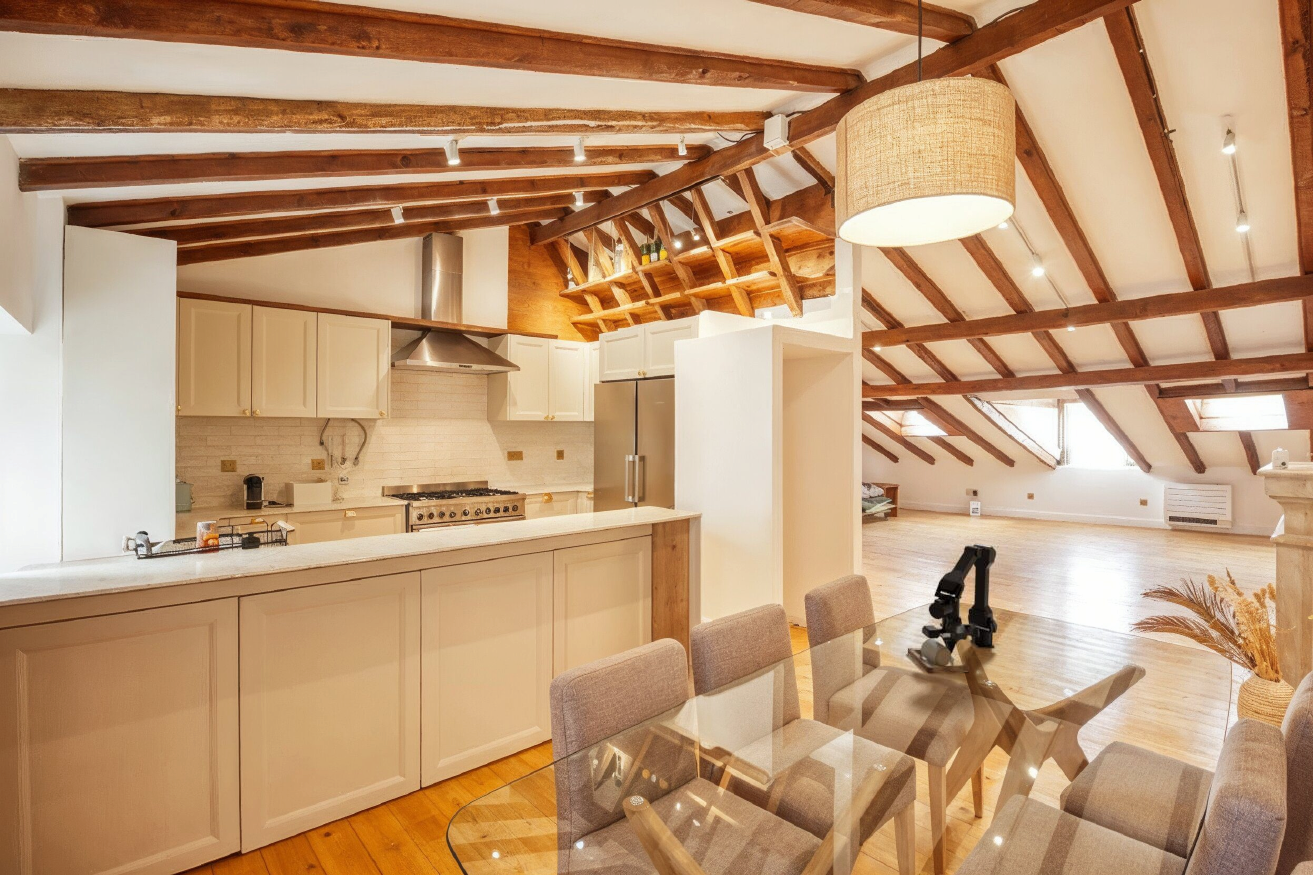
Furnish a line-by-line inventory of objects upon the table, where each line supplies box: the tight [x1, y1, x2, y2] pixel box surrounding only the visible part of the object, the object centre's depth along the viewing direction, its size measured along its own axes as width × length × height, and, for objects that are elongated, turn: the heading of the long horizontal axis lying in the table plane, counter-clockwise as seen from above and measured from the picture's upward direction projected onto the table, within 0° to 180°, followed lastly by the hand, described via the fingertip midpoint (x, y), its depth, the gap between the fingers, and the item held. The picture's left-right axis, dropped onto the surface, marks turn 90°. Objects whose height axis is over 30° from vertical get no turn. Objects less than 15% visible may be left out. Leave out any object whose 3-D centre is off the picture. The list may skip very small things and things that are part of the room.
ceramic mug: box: [920, 638, 955, 666], centre depth 231 cm, size 11×8×8 cm
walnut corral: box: [907, 647, 970, 675], centre depth 231 cm, size 14×17×2 cm
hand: (950, 653), depth 231 cm, fingers closed
